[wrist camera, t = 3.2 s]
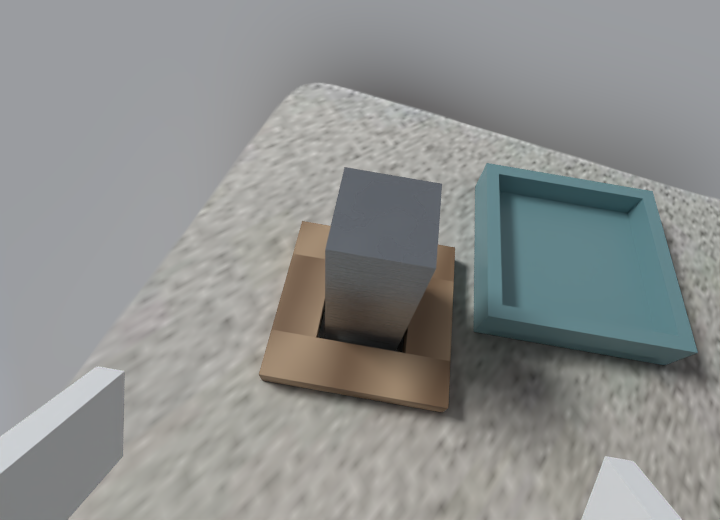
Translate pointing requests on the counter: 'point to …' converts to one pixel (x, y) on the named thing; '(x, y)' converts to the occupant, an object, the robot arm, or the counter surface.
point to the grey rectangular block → (379, 256)
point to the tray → (576, 267)
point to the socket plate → (356, 362)
